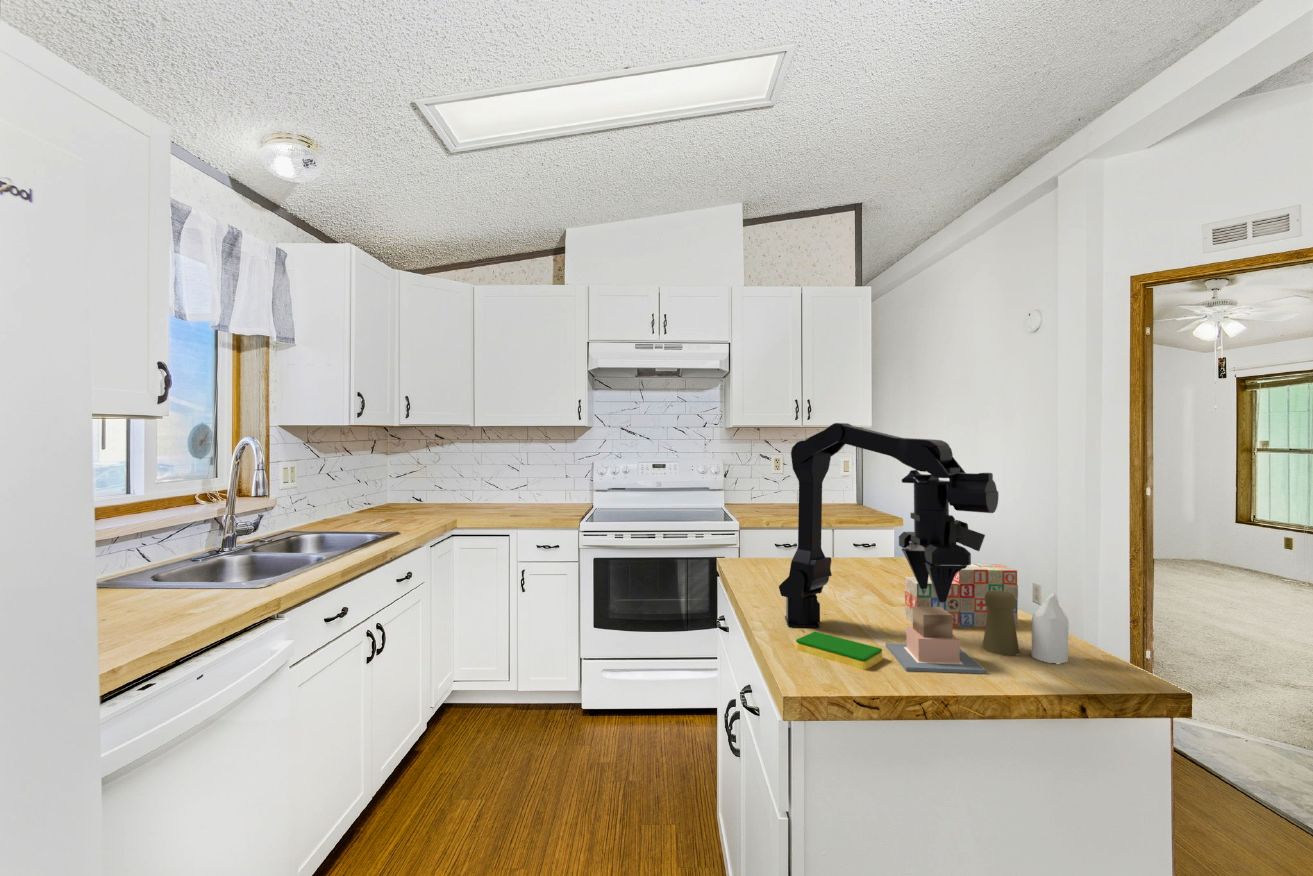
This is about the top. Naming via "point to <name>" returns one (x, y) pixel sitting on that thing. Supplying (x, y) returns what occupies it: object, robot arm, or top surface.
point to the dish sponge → (839, 650)
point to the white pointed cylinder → (1050, 632)
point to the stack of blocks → (964, 593)
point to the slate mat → (914, 665)
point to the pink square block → (932, 647)
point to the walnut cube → (932, 622)
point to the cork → (1000, 624)
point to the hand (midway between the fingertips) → (932, 594)
